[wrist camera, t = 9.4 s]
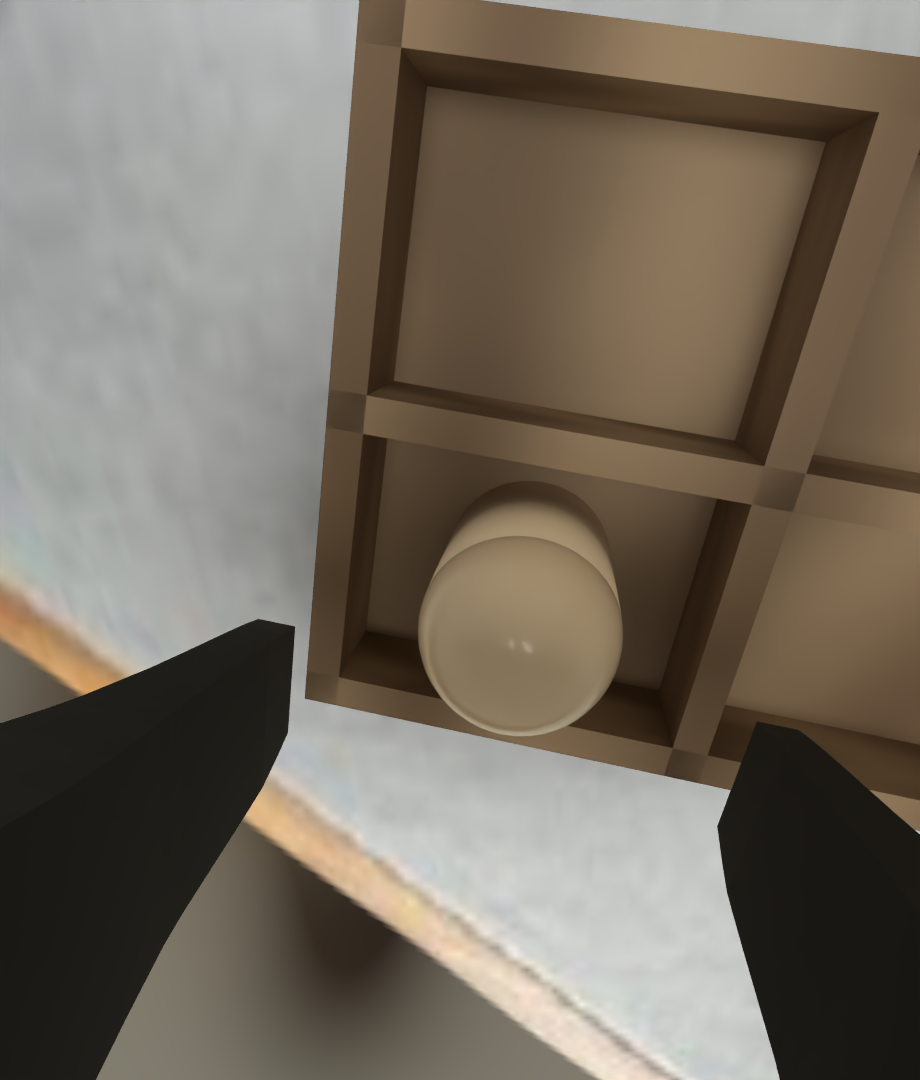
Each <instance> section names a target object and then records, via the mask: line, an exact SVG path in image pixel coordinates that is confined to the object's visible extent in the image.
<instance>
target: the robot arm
mask: <svg viewBox="0 0 920 1080" xmlns="http://www.w3.org/2000/svg"><path fill="white" fill-rule="evenodd" d="M294 635H295V626H290V625H285V624H280V623H275V622H270V621H265V620H260V619H257V620H255V621H252V622H249V623H247V624H244V625H242V626H240V627H238V628H235V629H233V630H231V631H229V632H227V633H224V634H222V635H220V636H218V637H216V638H214V639H212V640H210V641H207V642H205V643H203V644H201V645H199V646H197V647H195V648H192V649H190V650H188V651H186V652H184V653H182V654H179V655H177V656H175V657H173V658H171V659H169V660H166V661H164V662H162V663H160V664H158V665H156V666H153V667H151V668H149V669H146V670H144V671H141V672H139V673H137V674H134V675H132V676H129V677H127V678H124V679H122V680H120V681H117V682H115V683H112V684H110V685H107V686H105V687H103V688H100V689H98V690H95V691H93V692H90V693H88V694H85V695H83V696H80V697H77V698H75V699H72V700H69V701H67V702H64V703H61V704H58V705H56V706H52V707H50V708H47V709H44V710H41V711H37V712H34V713H31V714H28V715H25V716H22V717H19V718H16V719H13V720H9V721H6V722H4V723H0V1080H96V1078H97V1076H98V1074H99V1072H100V1070H101V1068H102V1066H103V1064H104V1062H105V1060H106V1058H107V1056H108V1054H109V1052H110V1050H111V1048H112V1046H113V1044H114V1042H115V1040H116V1038H117V1036H118V1033H119V1032H120V1029H121V1027H122V1026H123V1024H124V1021H125V1019H126V1017H127V1016H128V1014H129V1012H130V1010H131V1008H132V1006H133V1004H134V1002H135V1000H136V998H137V996H138V994H139V992H140V990H141V988H142V986H143V984H144V982H145V981H146V979H147V976H148V975H149V973H150V971H151V969H152V967H153V965H154V963H155V961H156V959H157V957H158V955H159V953H160V951H161V950H162V948H163V946H164V944H165V942H166V941H167V939H168V937H169V935H170V934H171V932H172V930H173V929H174V927H175V925H176V923H177V922H178V920H179V918H180V917H181V915H182V913H183V912H184V910H185V909H186V907H187V906H188V904H189V902H190V901H191V899H192V898H193V896H194V895H195V893H196V891H197V890H198V888H199V887H200V885H201V884H202V882H203V881H204V879H205V877H206V876H207V874H208V873H209V871H210V869H211V868H212V866H213V865H214V863H215V862H216V860H217V859H218V857H219V856H220V854H221V852H222V851H223V849H224V848H225V846H226V845H227V843H228V841H229V840H230V838H231V836H232V835H233V834H234V832H235V831H236V829H237V827H238V826H239V824H240V823H241V821H242V819H243V818H244V816H245V815H246V813H247V811H248V810H249V808H250V807H251V805H252V804H253V802H254V800H255V799H256V797H257V795H258V794H259V792H260V791H261V789H262V787H263V785H264V783H265V781H266V779H267V777H268V775H269V773H270V771H271V769H272V766H273V764H274V762H275V760H276V758H277V756H278V753H279V751H280V749H281V747H282V745H283V742H284V740H285V738H286V736H287V734H288V723H289V708H290V693H291V679H292V664H293V649H294ZM717 827H718V834H719V842H720V849H721V857H722V864H723V870H724V876H725V882H726V888H727V894H728V897H729V901H730V905H731V909H732V912H733V916H734V919H735V923H736V926H737V930H738V933H739V937H740V941H741V944H742V948H743V951H744V955H745V958H746V961H747V965H748V968H749V972H750V975H751V979H752V982H753V986H754V989H755V992H756V996H757V999H758V1003H759V1006H760V1010H761V1013H762V1017H763V1020H764V1023H765V1027H766V1030H767V1034H768V1037H769V1041H770V1044H771V1048H772V1051H773V1054H774V1058H775V1062H776V1066H777V1070H778V1074H779V1078H780V1080H920V834H919V833H917V832H916V831H915V830H914V829H913V828H912V827H911V826H909V825H908V824H907V823H906V822H905V821H904V820H903V819H901V818H900V817H899V816H898V815H897V814H896V813H895V812H893V811H892V810H891V809H890V808H889V807H888V806H887V805H886V804H884V803H883V802H882V801H881V800H880V799H879V798H878V797H877V796H875V795H874V794H873V793H872V792H871V791H870V790H869V789H868V788H867V787H865V786H864V785H863V784H862V783H861V782H860V781H859V780H858V779H856V778H855V777H854V776H853V775H852V774H851V773H850V772H849V771H847V770H846V769H845V768H844V767H843V766H842V765H841V764H840V763H838V762H837V761H836V760H835V759H834V758H833V757H832V756H830V755H829V754H828V753H827V752H826V751H825V750H823V749H822V748H821V747H820V746H819V745H817V744H816V743H815V742H814V741H813V740H811V739H810V738H809V737H807V736H806V735H805V734H803V733H802V732H801V731H799V730H797V729H792V728H787V727H782V726H777V725H773V724H768V723H763V722H758V721H757V722H756V725H755V727H754V730H753V733H752V735H751V738H750V741H749V743H748V746H747V749H746V751H745V754H744V757H743V759H742V762H741V765H740V767H739V770H738V773H737V775H736V778H735V781H734V783H733V786H732V789H731V791H730V794H729V797H728V799H727V802H726V805H725V807H724V810H723V813H722V815H721V818H720V821H719V823H718V826H717Z"/></svg>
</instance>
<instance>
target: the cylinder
mask: <svg viewBox="0 0 920 1080" xmlns="http://www.w3.org/2000/svg"><path fill="white" fill-rule="evenodd" d="M418 642H419V650H420V654H421V659H422V662H423V665H424V668H425V671H426V673H427V676H428V678H429V679H430V681H431V683H432V685H433V687H434V688H435V690H436V691H437V692H438V694H439V695H440V697H441V698H442V699H443V700H444V701H445V703H446V704H447V705H448V706H449V707H450V708H451V709H452V710H454V711H455V712H456V713H457V714H458V715H460V716H461V717H463V718H464V719H466V720H467V721H469V722H470V723H472V724H474V725H476V726H478V727H480V728H483V729H485V730H488V731H490V732H494V733H498V734H502V735H509V736H535V735H540V734H545V733H549V732H552V731H555V730H558V729H561V728H563V727H565V726H568V725H569V724H571V723H573V722H575V721H576V720H578V719H579V718H580V717H582V716H583V715H584V714H586V713H587V712H588V711H589V710H590V709H592V707H593V706H594V705H595V704H596V703H597V702H598V701H599V700H600V699H601V697H602V696H603V695H604V693H605V692H606V690H607V689H608V687H609V685H610V684H611V682H612V680H613V678H614V676H615V673H616V671H617V668H618V665H619V661H620V657H621V652H622V647H623V624H622V615H621V610H620V604H619V599H618V593H617V588H616V582H615V577H614V571H613V566H612V560H611V555H610V549H609V544H608V540H607V536H606V533H605V530H604V528H603V526H602V523H601V522H600V520H599V518H598V517H597V515H596V514H595V513H594V511H593V510H592V509H591V508H590V507H589V506H588V505H587V504H586V503H585V502H584V501H583V500H582V499H580V498H579V497H578V496H576V495H575V494H574V493H572V492H570V491H568V490H566V489H564V488H562V487H559V486H557V485H554V484H550V483H546V482H539V481H518V482H511V483H507V484H504V485H500V486H498V487H496V488H493V489H491V490H489V491H488V492H486V493H484V494H482V495H481V496H480V497H479V498H477V499H476V500H475V501H474V502H473V503H472V504H471V505H470V506H469V507H468V508H467V509H466V510H465V512H464V513H463V514H462V516H461V518H460V519H459V521H458V523H457V525H456V527H455V529H454V531H453V534H452V536H451V538H450V540H449V542H448V545H447V547H446V549H445V551H444V553H443V556H442V558H441V560H440V562H439V564H438V566H437V569H436V571H435V573H434V575H433V577H432V580H431V582H430V584H429V586H428V588H427V591H426V594H425V596H424V599H423V602H422V605H421V610H420V614H419V623H418Z"/></svg>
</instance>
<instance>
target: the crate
mask: <svg viewBox="0 0 920 1080" xmlns="http://www.w3.org/2000/svg"><path fill="white" fill-rule="evenodd" d="M518 481H539V482H546V483H550V484H554V485H557V486H559V487H562V488H564V489H566V490H568V491H570V492H572V493H574V494H575V495H576V496H578V497H579V498H580V499H582V500H583V501H584V502H585V503H586V504H587V505H588V506H589V507H590V508H591V509H592V510H593V511H594V513H595V514H596V515H597V517H598V518H599V520H600V522H601V523H602V526H603V528H604V530H605V533H606V536H607V540H608V544H609V549H610V555H611V560H612V566H613V571H614V577H615V582H616V588H617V593H618V599H619V604H620V610H621V615H622V624H623V647H622V652H621V657H620V661H619V665H618V668H617V671H616V673H615V676H614V678H613V680H612V682H611V684H610V685H609V687H608V689H607V690H606V692H605V693H604V695H603V696H602V697H601V699H600V700H599V701H598V702H597V703H596V704H595V705H594V706H593V707H592V709H590V710H589V711H588V712H587V713H586V714H584V715H583V716H582V717H580V718H579V719H578V720H576V721H575V722H573V723H571V724H569V725H568V726H565V727H563V728H561V729H558V730H555V731H552V732H549V733H545V734H540V735H535V736H509V735H502V734H498V733H494V732H490V731H488V730H485V729H483V728H480V727H478V726H476V725H474V724H472V723H470V722H469V721H467V720H466V719H464V718H463V717H461V716H460V715H458V714H457V713H456V712H455V711H454V710H452V709H451V708H450V707H449V706H448V705H447V704H446V703H445V701H444V700H443V699H442V698H441V697H440V695H439V694H438V692H437V691H436V690H435V688H434V687H433V685H432V683H431V681H430V679H429V678H428V676H427V673H426V671H425V668H424V665H423V662H422V659H421V654H420V650H419V642H418V623H419V614H420V610H421V605H422V602H423V599H424V596H425V594H426V591H427V588H428V586H429V584H430V582H431V580H432V577H433V575H434V573H435V571H436V569H437V566H438V564H439V562H440V560H441V558H442V556H443V553H444V551H445V549H446V547H447V545H448V542H449V540H450V538H451V536H452V534H453V531H454V529H455V527H456V525H457V523H458V521H459V519H460V518H461V516H462V514H463V513H464V512H465V510H466V509H467V508H468V507H469V506H470V505H471V504H472V503H473V502H474V501H475V500H476V499H477V498H479V497H480V496H481V495H482V494H484V493H486V492H488V491H489V490H491V489H493V488H496V487H498V486H500V485H504V484H507V483H511V482H518ZM305 699H310V700H315V701H319V702H324V703H328V704H333V705H338V706H342V707H347V708H352V709H356V710H361V711H366V712H370V713H375V714H380V715H384V716H389V717H394V718H398V719H403V720H407V721H412V722H417V723H421V724H426V725H431V726H435V727H440V728H445V729H449V730H454V731H459V732H463V733H468V734H473V735H477V736H482V737H487V738H491V739H496V740H500V741H505V742H510V743H514V744H519V745H524V746H528V747H533V748H538V749H542V750H547V751H552V752H556V753H561V754H566V755H570V756H575V757H579V758H584V759H589V760H593V761H598V762H603V763H607V764H612V765H617V766H621V767H626V768H631V769H635V770H640V771H645V772H649V773H654V774H658V775H663V776H668V777H672V778H677V779H682V780H686V781H691V782H696V783H700V784H705V785H710V786H714V787H719V788H724V789H728V790H731V789H732V786H733V783H734V781H735V778H736V775H737V773H738V770H739V767H740V765H741V762H742V759H743V757H744V754H745V751H746V749H747V746H748V743H749V741H750V738H751V735H752V733H753V730H754V727H755V725H756V722H757V721H758V722H763V723H768V724H773V725H777V726H782V727H787V728H792V729H797V730H799V731H801V732H802V733H803V734H805V735H806V736H807V737H809V738H810V739H811V740H813V741H814V742H815V743H816V744H817V745H819V746H820V747H821V748H822V749H823V750H825V751H826V752H827V753H828V754H829V755H830V756H832V757H833V758H834V759H835V760H836V761H837V762H838V763H840V764H841V765H842V766H843V767H844V768H845V769H846V770H847V771H849V772H850V773H851V774H852V775H853V776H854V777H855V778H856V779H858V780H859V781H860V782H861V783H862V784H863V785H864V786H865V787H867V788H868V789H869V790H870V791H871V792H872V793H873V794H874V795H875V796H877V797H878V798H879V799H880V800H881V801H882V802H883V803H884V804H886V805H887V806H888V807H889V808H890V809H891V810H892V811H893V812H895V813H896V814H897V815H898V816H899V817H900V818H901V819H903V820H904V821H905V822H906V823H907V824H908V825H909V826H911V827H912V828H913V829H914V830H919V831H920V57H914V56H907V55H899V54H891V53H883V52H876V51H868V50H860V49H853V48H845V47H837V46H829V45H822V44H814V43H806V42H798V41H791V40H783V39H775V38H768V37H760V36H752V35H744V34H737V33H729V32H721V31H713V30H706V29H698V28H690V27H683V26H675V25H667V24H659V23H652V22H644V21H636V20H628V19H621V18H613V17H605V16H598V15H590V14H582V13H574V12H567V11H559V10H551V9H543V8H536V7H528V6H520V5H513V4H505V3H497V2H489V1H482V0H359V12H358V25H357V38H356V51H355V63H354V76H353V89H352V102H351V114H350V127H349V140H348V153H347V166H346V178H345V191H344V204H343V217H342V230H341V242H340V255H339V268H338V281H337V293H336V306H335V319H334V332H333V345H332V357H331V370H330V383H329V396H328V408H327V421H326V434H325V447H324V460H323V472H322V485H321V498H320V511H319V524H318V536H317V549H316V562H315V575H314V587H313V600H312V613H311V626H310V639H309V651H308V664H307V677H306V690H305Z"/></svg>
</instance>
